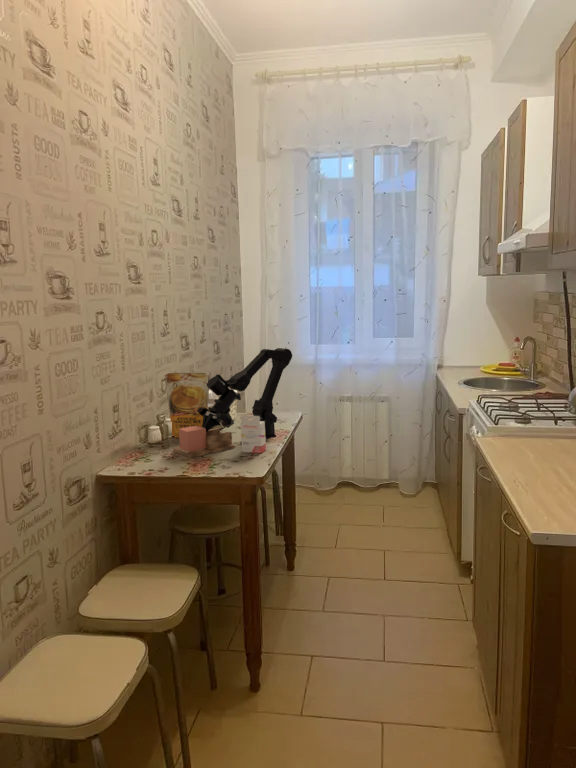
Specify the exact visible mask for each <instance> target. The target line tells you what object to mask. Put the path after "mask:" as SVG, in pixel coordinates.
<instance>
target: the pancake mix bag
mask: <svg viewBox="0 0 576 768" xmlns="http://www.w3.org/2000/svg"><path fill="white" fill-rule="evenodd" d="M164 380H165V388H166V395H167V403H168V409H169V418H170V423H171V422H172V436H174V437H173V438H174V439H179V429H181V428H186V427H191V426H196V425H197V426H200V427H202V424H203V416H202V415H200V414H199V413H198V412H197V410H198V409H199V407H204V408H207V409H208V399H209V390H210V389H209V388H208V387H207V383H208V381H209V380H210V375H209V374H207V372H172V373H171V372H169V373H166V374H165V375H164Z"/></svg>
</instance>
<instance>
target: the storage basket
mask: <svg viewBox="0 0 576 768" xmlns="http://www.w3.org/2000/svg"><path fill="white" fill-rule="evenodd" d="M234 391H235V392H236V393H238V391H237V390H234ZM220 396H221V395H216V394H215V393H214V392H213V391H211V390H210V389H209V399H208V409H209V408H212V407H213V405H214V404H215V402H214V401H215V399H216V400H218V399H219V397H220ZM237 406H238V400H237V399H235V400H234V402H233V403H232V405H231V406H230V407H229V408H230V409H231V410H230V412H229V414H230V416H231V418H232V420H233V421H235V420H236V419H237V410H238V409H237ZM220 424H221V425H217V426H214V427H212V428H211V429H215V428H220V429H224V428H225V427H224V426H223V425H222V423H220Z"/></svg>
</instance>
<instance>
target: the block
mask: <svg viewBox="0 0 576 768" xmlns="http://www.w3.org/2000/svg"><path fill="white" fill-rule="evenodd" d="M178 439H179V447H180V449H182V450H185V451H187V452H191V451H196V450H200V449H205V448H206V428H203V427H200V426H197V425H196V426H191V427H186V428H181V429H179V438H178Z"/></svg>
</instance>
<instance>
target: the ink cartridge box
mask: <svg viewBox="0 0 576 768" xmlns="http://www.w3.org/2000/svg"><path fill="white" fill-rule="evenodd" d="M249 419H251V420H249ZM240 433H241V434H240V435H241V436H240V437H241V451H242V453H250V452H251V453H252V454H262V453H264V452H266V451H267V443H266V442H267V440H266V438H267V437H266V438H265V421H260V417H259V416H253V415H243V414H242V415H241V416H240Z"/></svg>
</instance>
